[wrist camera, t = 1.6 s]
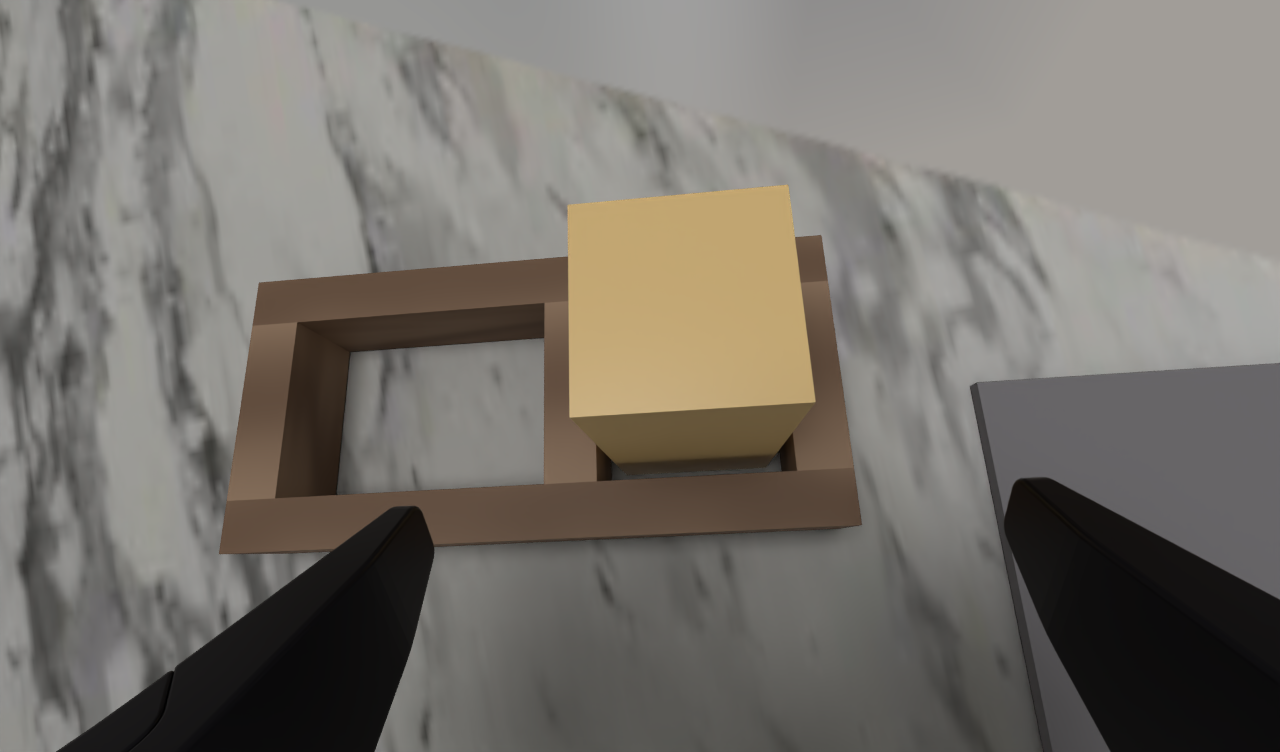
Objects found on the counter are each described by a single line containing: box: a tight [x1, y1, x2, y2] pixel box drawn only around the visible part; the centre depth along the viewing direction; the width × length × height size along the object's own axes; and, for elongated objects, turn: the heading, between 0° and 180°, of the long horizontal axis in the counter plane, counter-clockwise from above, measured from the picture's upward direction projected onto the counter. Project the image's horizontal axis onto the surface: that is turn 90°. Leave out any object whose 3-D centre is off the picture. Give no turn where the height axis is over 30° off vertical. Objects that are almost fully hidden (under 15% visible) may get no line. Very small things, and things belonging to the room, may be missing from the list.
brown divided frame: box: [219, 235, 862, 554], centre depth 19 cm, size 8×18×3 cm, turn 92°
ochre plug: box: [568, 185, 816, 475], centre depth 16 cm, size 4×4×9 cm
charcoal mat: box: [970, 363, 1280, 752], centre depth 17 cm, size 12×12×1 cm
